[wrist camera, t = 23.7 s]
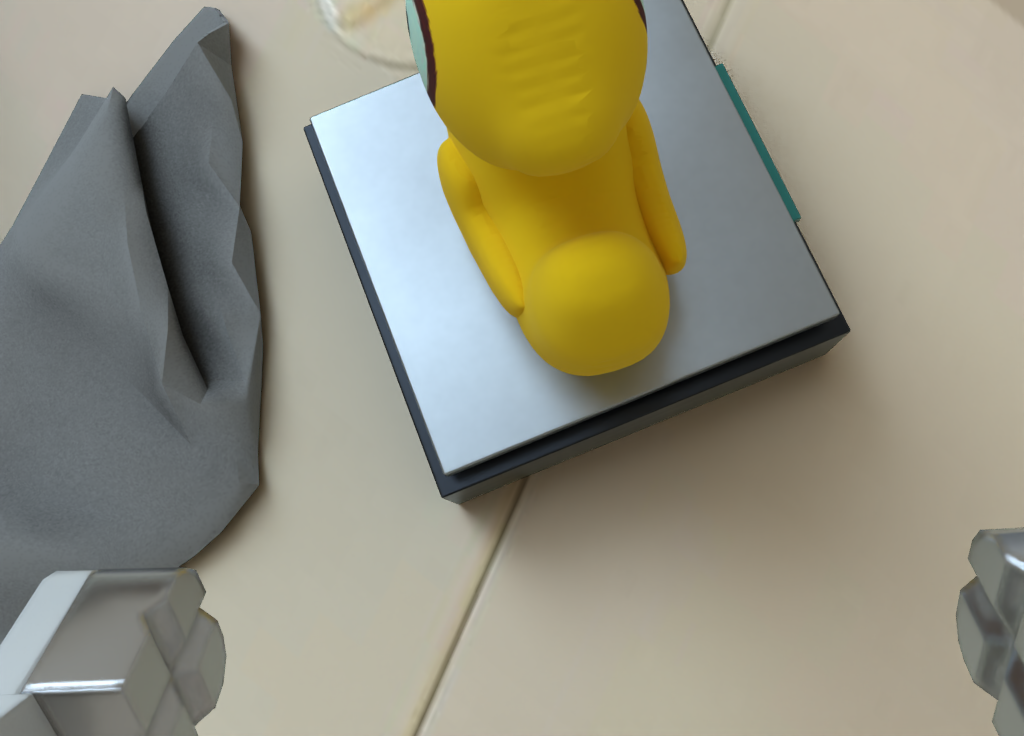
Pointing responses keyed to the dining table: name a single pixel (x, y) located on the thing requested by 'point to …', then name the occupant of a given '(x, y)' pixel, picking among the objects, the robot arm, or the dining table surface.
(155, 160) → the cloth
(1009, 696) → the robot arm
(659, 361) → the scale
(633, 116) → the duckling
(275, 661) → the dining table surface
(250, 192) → the dining table surface
